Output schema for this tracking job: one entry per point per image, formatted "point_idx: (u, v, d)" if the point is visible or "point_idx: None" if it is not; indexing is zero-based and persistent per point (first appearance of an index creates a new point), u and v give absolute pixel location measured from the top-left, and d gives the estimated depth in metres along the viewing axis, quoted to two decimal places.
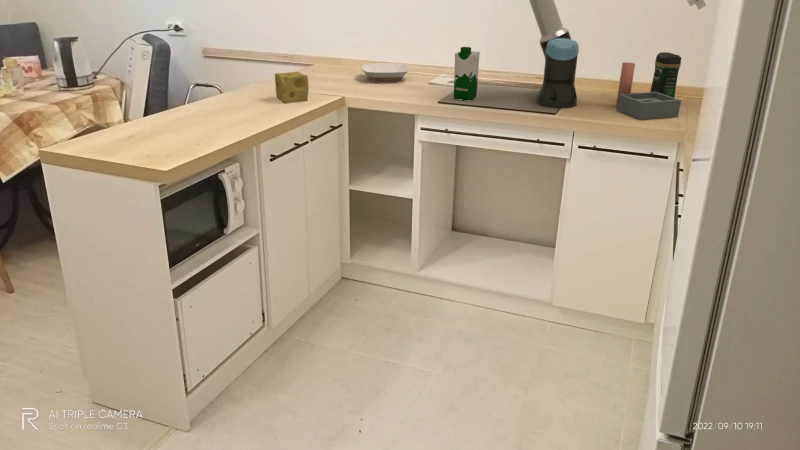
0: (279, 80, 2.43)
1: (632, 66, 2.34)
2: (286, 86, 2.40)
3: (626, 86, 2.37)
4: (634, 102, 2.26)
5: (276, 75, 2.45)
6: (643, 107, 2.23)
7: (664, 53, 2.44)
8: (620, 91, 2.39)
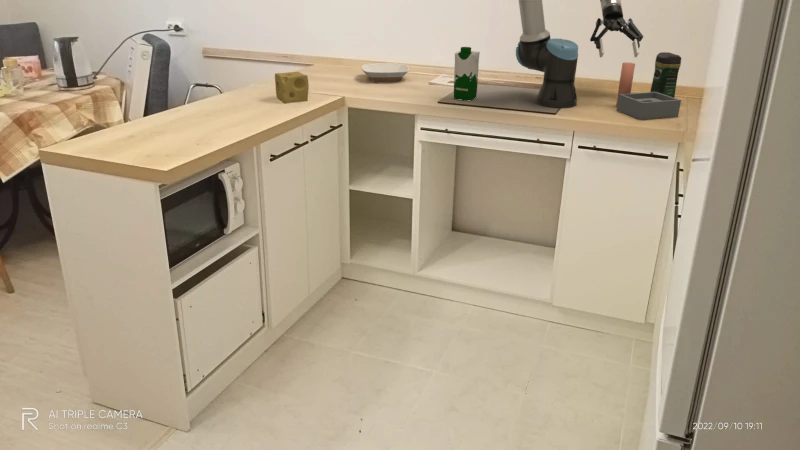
0: (279, 80, 2.43)
1: (632, 66, 2.34)
2: (286, 86, 2.40)
3: (626, 86, 2.37)
4: (634, 102, 2.26)
5: (276, 75, 2.45)
6: (643, 107, 2.23)
7: (664, 53, 2.44)
8: (620, 91, 2.39)
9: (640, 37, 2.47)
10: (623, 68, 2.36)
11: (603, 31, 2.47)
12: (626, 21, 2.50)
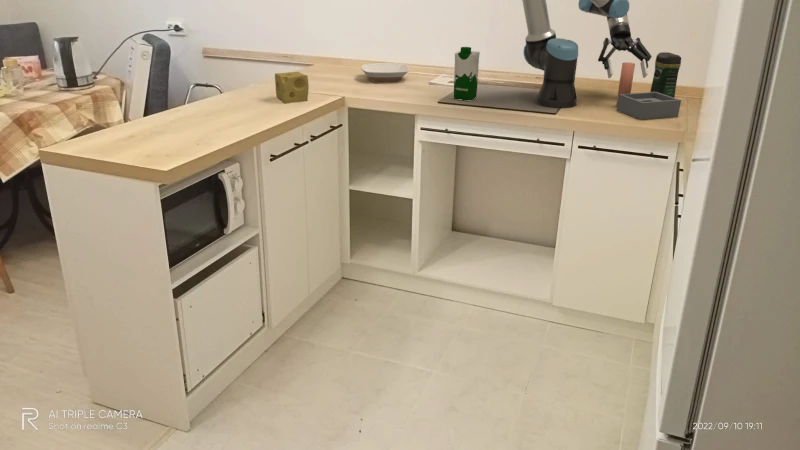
0: (279, 80, 2.43)
1: (632, 66, 2.34)
2: (286, 86, 2.40)
3: (626, 86, 2.37)
4: (634, 102, 2.26)
5: (276, 75, 2.45)
6: (643, 107, 2.23)
7: (664, 53, 2.44)
8: (620, 91, 2.39)
9: (648, 57, 2.44)
10: (623, 68, 2.36)
11: (611, 51, 2.43)
12: (634, 41, 2.46)
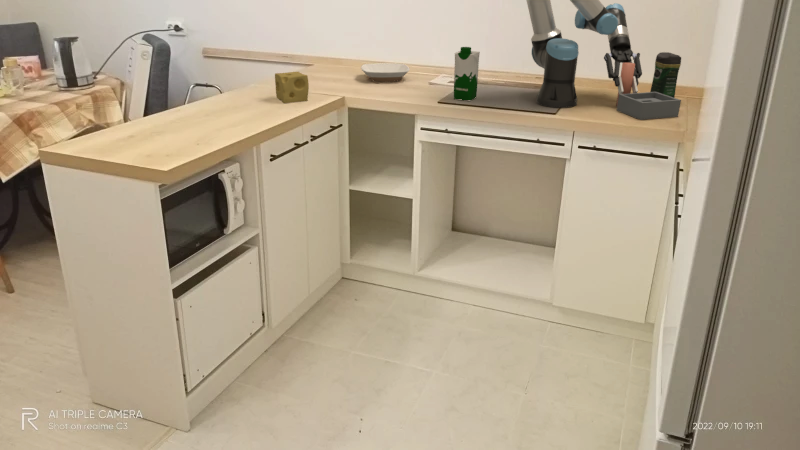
0: (279, 80, 2.43)
1: (632, 66, 2.34)
2: (286, 86, 2.40)
3: (626, 86, 2.37)
4: (634, 102, 2.26)
5: (276, 75, 2.45)
6: (643, 107, 2.23)
7: (664, 53, 2.44)
8: None
9: (639, 74, 2.39)
10: (623, 68, 2.36)
11: (618, 66, 2.39)
12: (634, 54, 2.42)
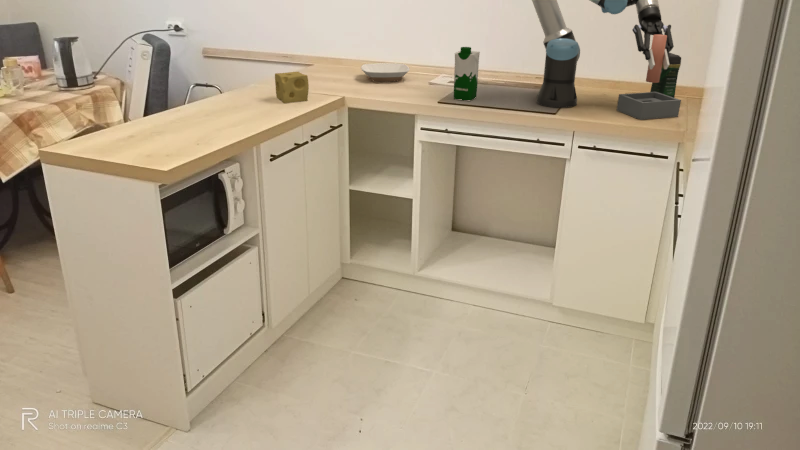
0: (279, 80, 2.43)
1: (664, 38, 2.20)
2: (286, 86, 2.40)
3: (657, 60, 2.23)
4: (634, 102, 2.26)
5: (276, 75, 2.45)
6: (643, 107, 2.23)
7: None
8: None
9: (670, 47, 2.24)
10: (654, 40, 2.21)
11: (648, 38, 2.25)
12: (664, 26, 2.28)
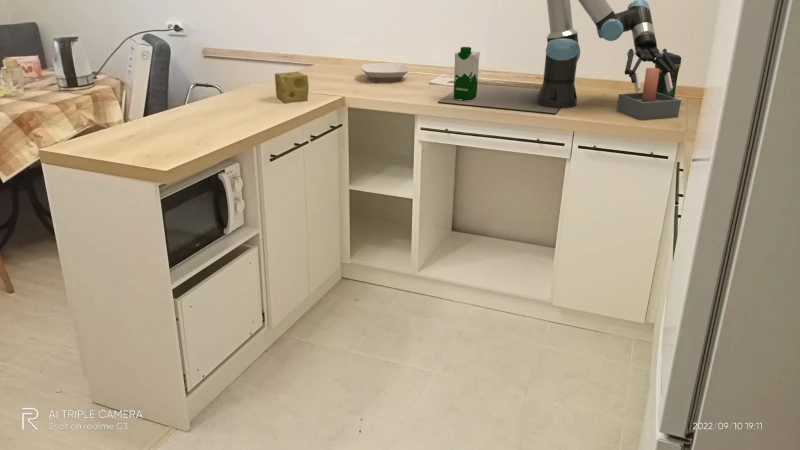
0: (279, 80, 2.43)
1: (656, 72, 2.24)
2: (286, 86, 2.40)
3: (650, 93, 2.27)
4: (634, 102, 2.26)
5: (276, 75, 2.45)
6: (643, 107, 2.23)
7: None
8: (644, 98, 2.29)
9: (673, 70, 2.28)
10: (647, 74, 2.26)
11: (638, 63, 2.28)
12: (660, 51, 2.32)
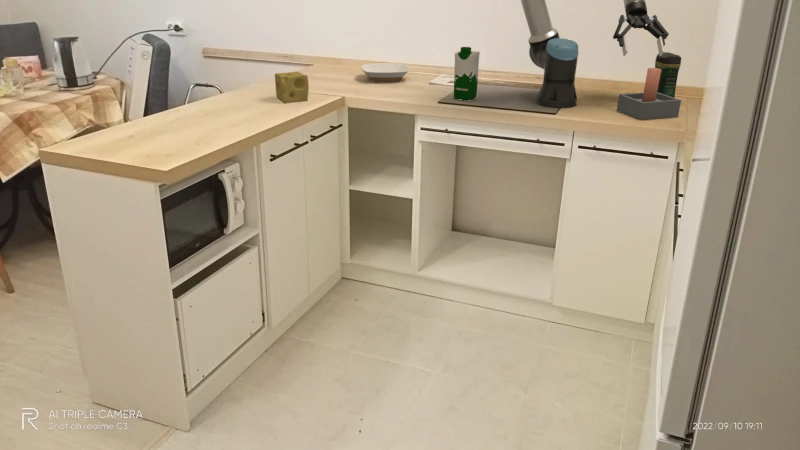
0: (279, 80, 2.43)
1: (658, 72, 2.24)
2: (286, 86, 2.40)
3: (651, 93, 2.27)
4: (634, 102, 2.26)
5: (276, 75, 2.45)
6: (643, 107, 2.23)
7: (664, 53, 2.44)
8: (645, 98, 2.29)
9: (665, 35, 2.36)
10: (648, 74, 2.26)
11: (627, 28, 2.36)
12: (650, 18, 2.39)
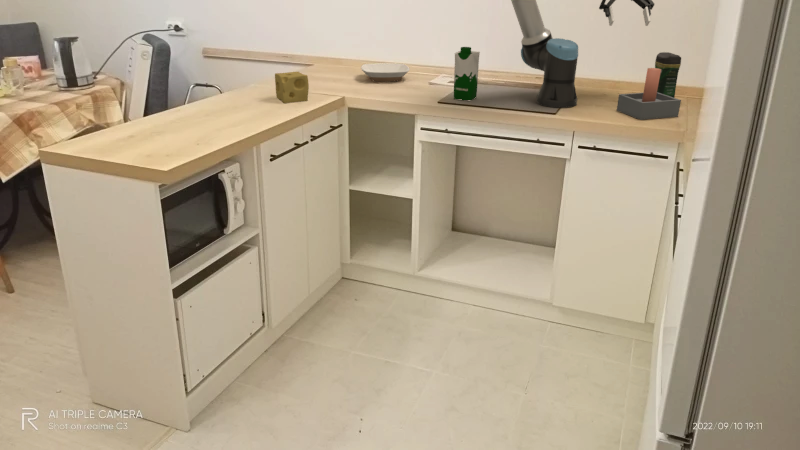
0: (279, 80, 2.43)
1: (658, 72, 2.24)
2: (286, 86, 2.40)
3: (651, 93, 2.27)
4: (634, 102, 2.26)
5: (276, 75, 2.45)
6: (643, 107, 2.23)
7: (664, 53, 2.44)
8: (645, 98, 2.29)
9: (651, 5, 2.37)
10: (648, 74, 2.26)
11: None
12: None
